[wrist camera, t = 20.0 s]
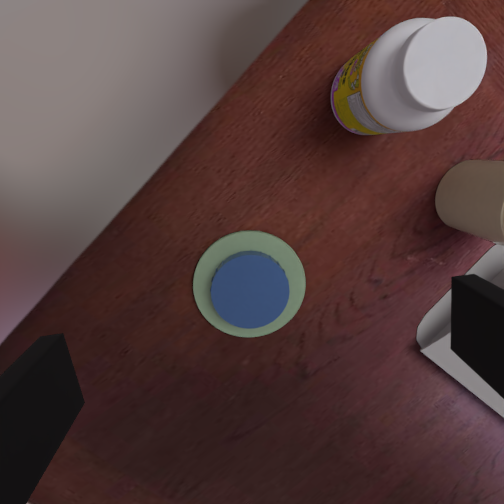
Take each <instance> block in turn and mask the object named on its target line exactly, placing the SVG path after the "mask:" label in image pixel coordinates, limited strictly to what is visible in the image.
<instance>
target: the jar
mask: <svg viewBox="0 0 504 504" xmlns="http://www.w3.org/2000/svg"><path fill="white" fill-rule="evenodd" d="M435 205H436V210H437V213H438V215H439V217H440V218H441V220H442V221H443V222H444V223H445V224H446V225H447V226H449V227H451V228H453V229H456V230H459V231H461V232H464V233H467V234H470V235H473V236H476V237H478V238H481V239H484V240H487V241H490V242H492V243H495V244H498V245H501V246H504V160H487V159H471V160H466V161H463V162H461V163H459V164H457V165H455V166H454V167H452V168H451V169H450V170H449V171H448V172H447V173H446V174H445V175H444V177H443V178H442V180H441V181H440V183H439V185H438V188H437V191H436V196H435Z"/></svg>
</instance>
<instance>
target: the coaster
mask: <svg viewBox="0 0 504 504" xmlns="http://www.w3.org/2000/svg"><path fill="white" fill-rule="evenodd" d="M250 250H251V251H259V252H260V251H261V252H262V253H265V254H267V255H271V257H272V258H274V259H275V260H276V261H278V262H279V264H280V265H281V267H282V268H283V269H284V270H285V275H286V277H287V278H288V281H289V291H290V292H289V299H288V303H287V305H286V307H285V309H284V311H283V312H282V313H281V315H280V316H279V317H278V318H277V319H275V320H274V321H273V322H271V323H269V324H268V325H265V326H263V327H259V328H252V329H247V328H240V327H236V326H234V325H231V324H230V323H228V322H226V321H225V320H224V319H223V318H221V316H220V315H219V314H218V313H217V311H216V310H215V308H214V306H213V303H212V301H211V292H210V288H211V285H212V282H211V281H212V277H213V276H214V273H215V271H216V268H218V266H219V265H220V264H221V263H222V261H224V260H225V259H226V258H228V257H229V256H230V255H233V254H235V253H238V252H240V251H250ZM305 286H306V284H305V273H304V269H303V266H302V264H301V262H300V260H299V258H298V256H297V255H296V253H295V252H294V251H293V249H292V248H291V247H290V246H289V245H288V244H287V243H285V242H284V241H283V240H281V239H280V238H278V237H276V236H274V235H272V234H269V233H266V232H261V231H253V230H247V231H239V232H234V233H231V234H228V235H226V236H224V237H222V238H220V239H219V240H217V241H216V242H214V243H213V244H212V245H211V246H210V247H209V248H208V249H207V250H206V251H205V252H204V254H203V255H202V257H201V258H200V260H199V262H198V264H197V267H196V270H195V273H194V278H193V292H194V297H195V301H196V303H197V306H198V308H199V310H200V311H201V313H202V314H203V316H204V317H205V318H206V319H207V320H208V321H209V322H210V323H211V324H212V325H213V326H215V327H216V328H217V329H219V330H221V331H223V332H225V333H227V334H230V335H234V336H239V337H258V336H263V335H266V334H269V333H272V332H274V331H276V330H278V329H279V328H281V327H283V326H284V325H285V324H286V323H288V322H289V321H290V320H291V319H292V318H293V316H294V315H295V314H296V312H297V311H298V309H299V307H300V305H301V303H302V301H303V297H304V294H305Z"/></svg>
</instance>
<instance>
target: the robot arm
mask: <svg viewBox="0 0 504 504" xmlns="http://www.w3.org/2000/svg"><path fill="white" fill-rule="evenodd" d="M450 349H451V350H452V351H453V352H454V353H455V354H456V355H457V356H458V357H459V358H461V359H462V360H463V361H464V362H465V363H466V364H467V365H468V366H469V367H470V368H471V369H472V370H473V371H474V372H475V373H477V374H478V375H479V376H480V377H481V378H482V379H483V380H484V381H485V382H486V383H487V384H488V385H489V386H490V387H491V388H493V389H494V390H495V391H496V392H497V393H498V394H499V395H500V396H501V397H502V398H503V399H504V289H502V288H500V287H498V286H496V285H494V284H493V283H491V282H489V281H487V280H485V279H483V278H481V277H479V276H478V275H476V274H469V275H462V276H455V277H452V288H451V346H450ZM84 403H85V402H84V399H83V395H82V392H81V389H80V386H79V383H78V379H77V376H76V373H75V370H74V366H73V363H72V360H71V357H70V354H69V350H68V347H67V344H66V341H65V338H64V334H63V333H62V334H55V335H48V336H41V337H39V338H38V339H37V340H36V341H35V342H34V343H33V344H32V345H31V346H30V347H29V348H28V349H27V350H26V351H25V352H24V353H23V354H22V355H21V356H20V357H19V358H18V359H17V360H16V361H15V362H14V363H13V364H12V365H11V366H10V367H9V368H8V369H7V370H6V371H5V372H4V373H3V374H2V375H1V376H0V504H26V503H27V501H28V499H29V498H30V496H31V494H32V492H33V491H34V489H35V487H36V486H37V484H38V482H39V480H40V479H41V477H42V475H43V474H44V472H45V470H46V468H47V467H48V465H49V463H50V461H51V460H52V458H53V456H54V455H55V453H56V451H57V449H58V448H59V446H60V444H61V443H62V441H63V439H64V437H65V436H66V434H67V432H68V431H69V429H70V427H71V425H72V424H73V422H74V420H75V419H76V417H77V415H78V413H79V412H80V410H81V408H82V406H83V405H84Z"/></svg>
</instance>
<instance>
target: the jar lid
mask: <svg viewBox="0 0 504 504" xmlns="http://www.w3.org/2000/svg"><path fill="white" fill-rule="evenodd" d="M211 282H212V285H211V288H210V292H211V301H212V303H213V306H214V308H215V310H216V311H217V313H218V314H219V315H220V316H221V318H223V319H224V320H225V321H226V322H228V323H230V324H231V325H234V326H236V327H240V328H247V329H252V328H259V327H263V326H265V325H268V324H269V323H271V322H273V321H274V320H275V319H277V318H278V317H279V316H280V315H281V313H282V312H283V311H284V309H285V307H286V305H287V303H288V299H289V292H290V291H289V281H288V278H287V277H286V275H285V270H284V269H283V268H282V267H281V265H280V264H279V262H278V261H276V260H275V259H274V258H272V257H271V255H267V254H265V253H262V252H261V251H260V252H259V251H251V250H250V251H240V252H238V253H235V254H233V255H230V256H229V257H228V258H226V259H225V260H224V261H222V263H221V264H220V265H219V266H218V268H216V271H215V273H214V276H213V277H212V281H211Z"/></svg>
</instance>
